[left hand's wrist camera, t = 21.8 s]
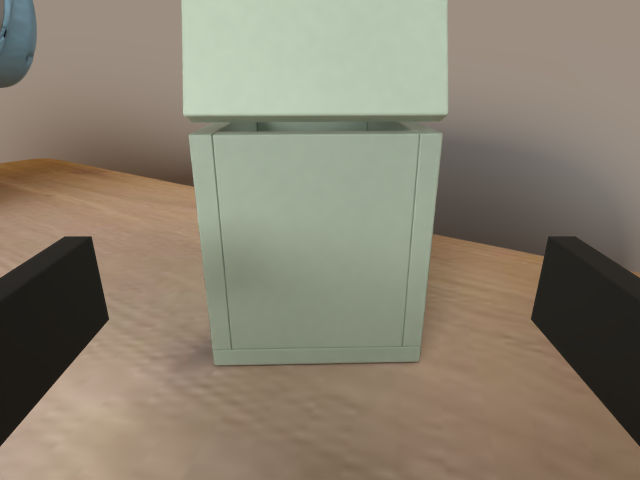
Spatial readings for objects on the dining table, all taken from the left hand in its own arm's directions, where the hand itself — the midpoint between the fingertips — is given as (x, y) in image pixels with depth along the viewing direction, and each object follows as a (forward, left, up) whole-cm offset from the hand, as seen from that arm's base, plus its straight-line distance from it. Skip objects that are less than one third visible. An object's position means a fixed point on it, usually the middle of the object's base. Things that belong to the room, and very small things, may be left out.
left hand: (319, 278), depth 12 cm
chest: (+8, -8, -7) cm, 13 cm away
